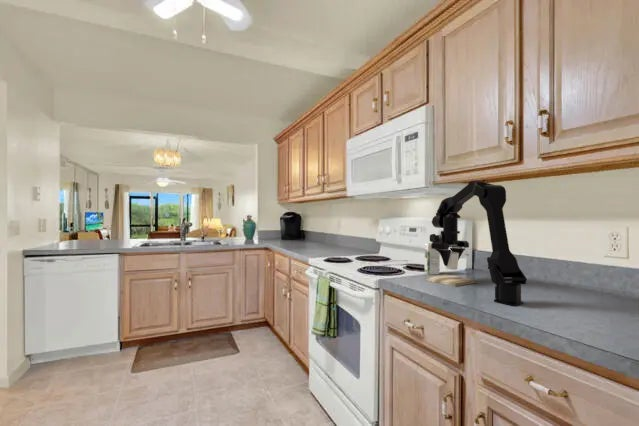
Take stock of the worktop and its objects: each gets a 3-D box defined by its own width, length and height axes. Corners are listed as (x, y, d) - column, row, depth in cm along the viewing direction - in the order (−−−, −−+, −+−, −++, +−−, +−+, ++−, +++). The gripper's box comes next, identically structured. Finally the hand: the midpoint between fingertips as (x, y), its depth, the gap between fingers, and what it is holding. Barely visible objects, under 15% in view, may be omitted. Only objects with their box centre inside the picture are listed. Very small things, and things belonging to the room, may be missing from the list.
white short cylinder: (456, 270, 130) (456, 253, 130) (439, 268, 134) (439, 252, 134) (460, 268, 136) (460, 252, 136) (444, 266, 140) (444, 251, 140)
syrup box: (424, 272, 156) (424, 243, 156) (436, 272, 156) (436, 243, 156) (427, 274, 151) (427, 244, 151) (440, 274, 150) (440, 244, 150)
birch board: (475, 282, 133) (475, 279, 133) (455, 286, 125) (455, 283, 125) (445, 276, 145) (445, 274, 145) (426, 280, 137) (426, 277, 137)
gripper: (447, 227, 147) (447, 261, 147) (420, 228, 137) (420, 264, 136) (469, 228, 138) (469, 264, 137) (443, 229, 127) (443, 267, 127)
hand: (450, 265), depth 135 cm, fingers closed on white short cylinder, 6 cm apart
